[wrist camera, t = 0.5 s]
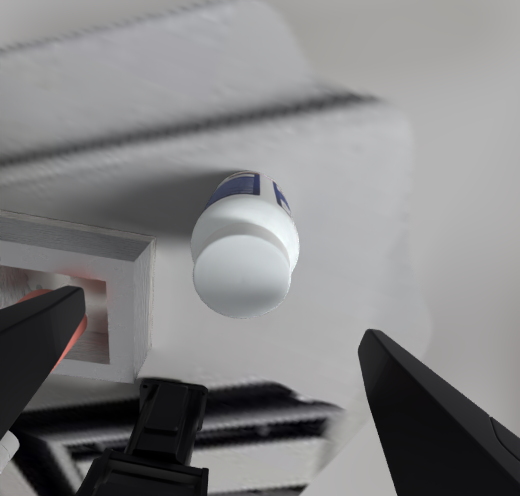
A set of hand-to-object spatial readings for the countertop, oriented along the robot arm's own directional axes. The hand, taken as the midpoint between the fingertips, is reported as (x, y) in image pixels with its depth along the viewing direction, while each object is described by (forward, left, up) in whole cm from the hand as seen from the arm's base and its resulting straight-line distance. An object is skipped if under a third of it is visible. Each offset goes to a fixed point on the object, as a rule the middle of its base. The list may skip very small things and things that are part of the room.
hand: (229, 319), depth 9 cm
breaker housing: (-9, +12, -12) cm, 19 cm away
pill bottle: (0, 0, -12) cm, 12 cm away
